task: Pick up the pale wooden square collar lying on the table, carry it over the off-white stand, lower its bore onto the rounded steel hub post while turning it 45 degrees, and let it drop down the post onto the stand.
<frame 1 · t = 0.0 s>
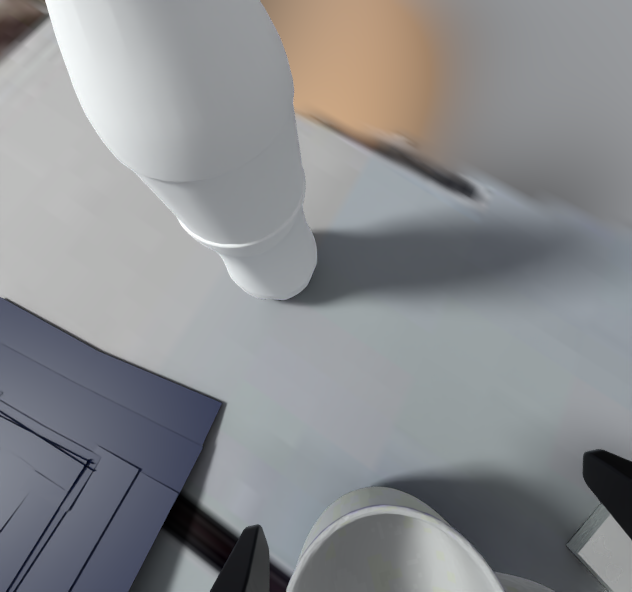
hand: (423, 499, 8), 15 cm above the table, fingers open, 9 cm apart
water bottle: (279, 270, 27), on the table
teacup: (400, 561, 20), on the table
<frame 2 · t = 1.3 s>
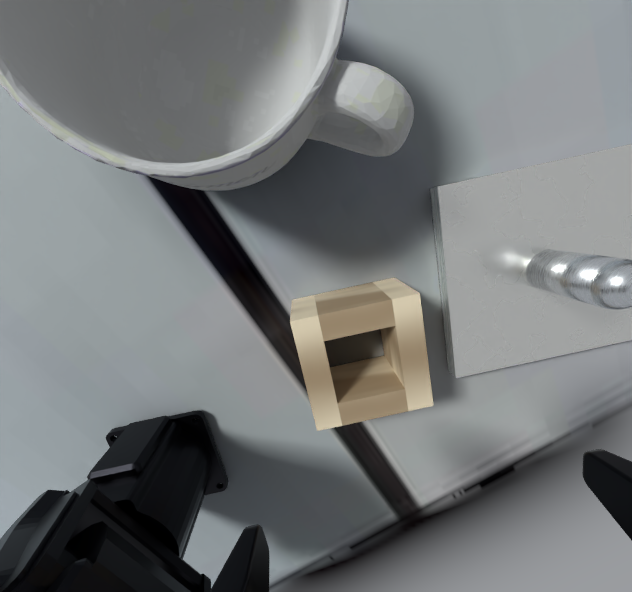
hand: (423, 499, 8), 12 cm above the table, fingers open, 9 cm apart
collar: (352, 336, 19), on the table
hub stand: (533, 266, 19), on the table
teacup: (250, 108, 16), on the table
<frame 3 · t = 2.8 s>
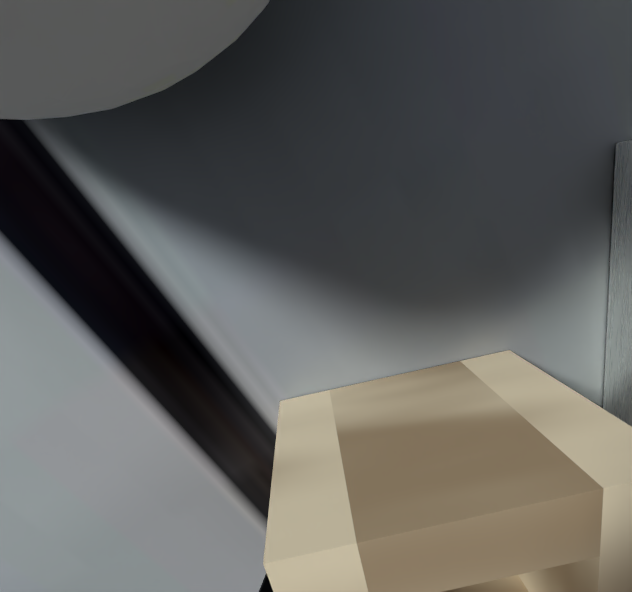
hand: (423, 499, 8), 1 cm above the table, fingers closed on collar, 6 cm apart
collar: (409, 468, 9), on the table, touching gripper
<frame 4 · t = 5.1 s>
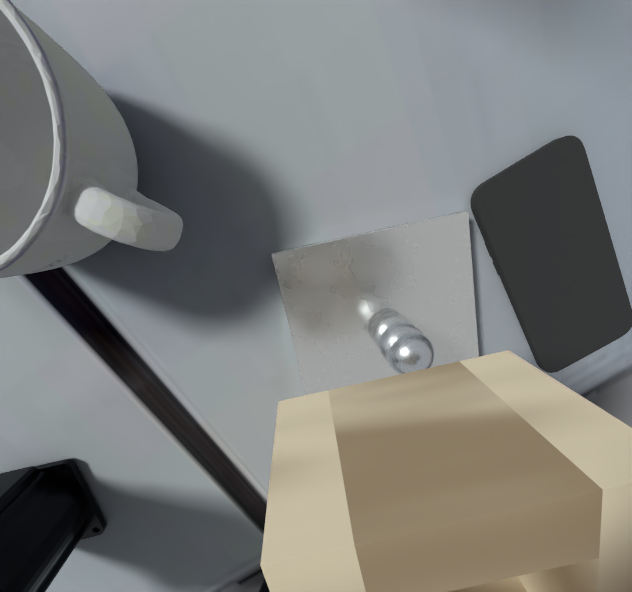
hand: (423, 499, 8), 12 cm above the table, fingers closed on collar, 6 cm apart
collar: (408, 468, 9), point 11 cm above the table, touching gripper
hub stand: (380, 321, 20), on the table
teacup: (92, 182, 17), on the table
phone: (548, 264, 21), on the table
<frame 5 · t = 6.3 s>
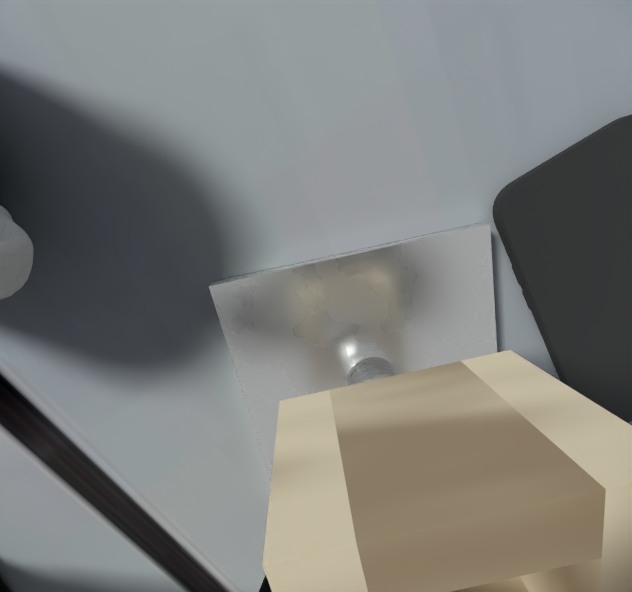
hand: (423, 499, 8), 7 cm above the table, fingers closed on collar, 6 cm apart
collar: (409, 468, 9), point 6 cm above the table, touching gripper
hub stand: (367, 369, 15), on the table
phone: (598, 292, 15), on the table
when the fingers open (5 cm above the table, at t = 7.4 s): collar drops 3 cm, resting on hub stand.
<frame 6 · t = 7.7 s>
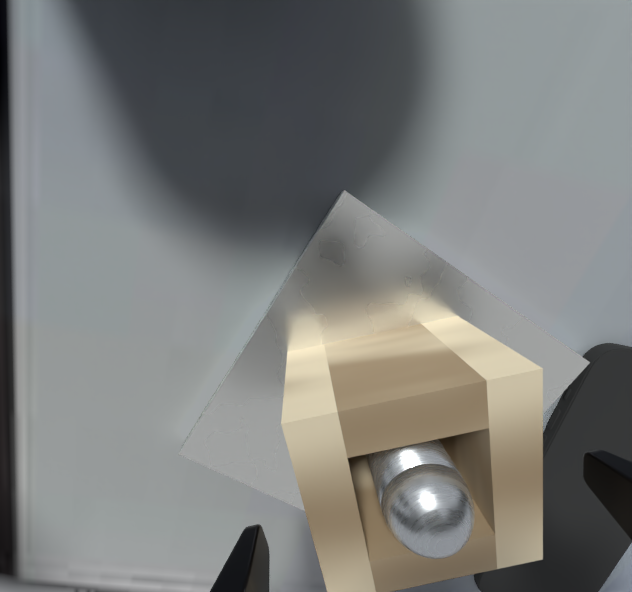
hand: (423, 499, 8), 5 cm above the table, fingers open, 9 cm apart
collar: (384, 407, 12), point 1 cm above the table, touching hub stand
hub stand: (377, 394, 13), on the table
phone: (576, 478, 15), on the table
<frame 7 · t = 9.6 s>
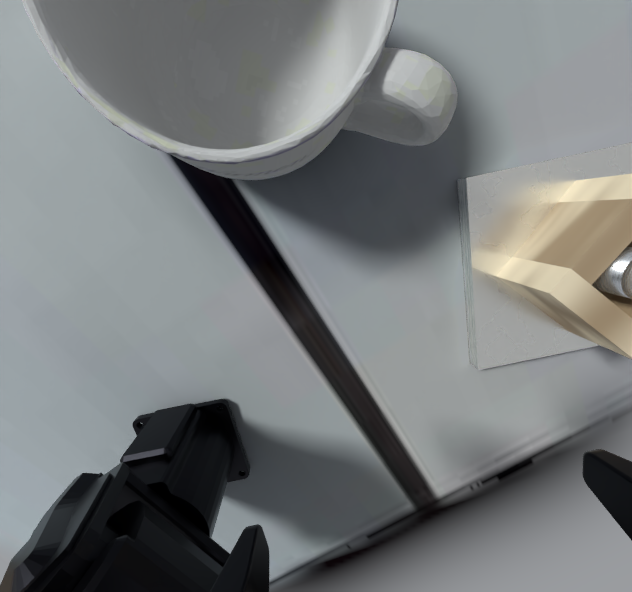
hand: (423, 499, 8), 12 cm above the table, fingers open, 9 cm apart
collar: (572, 261, 18), point 1 cm above the table, touching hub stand
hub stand: (558, 259, 19), on the table
teacup: (281, 98, 16), on the table
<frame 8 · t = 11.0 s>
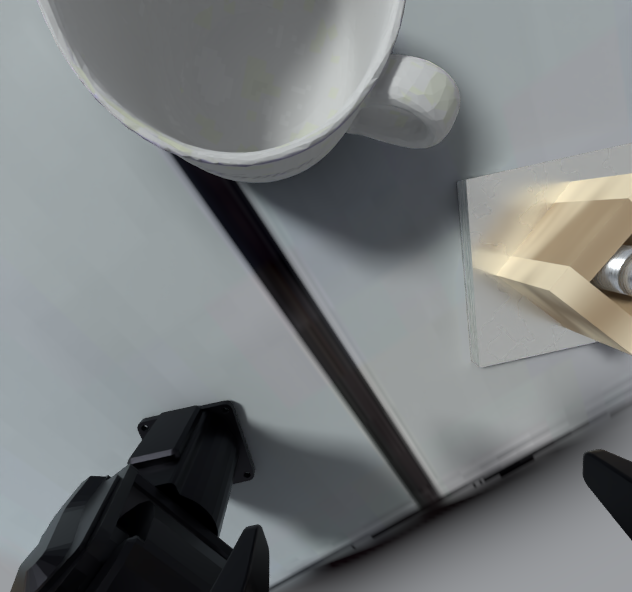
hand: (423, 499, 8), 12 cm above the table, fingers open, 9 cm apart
collar: (569, 259, 18), point 1 cm above the table, touching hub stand
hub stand: (555, 258, 19), on the table
teacup: (285, 103, 16), on the table
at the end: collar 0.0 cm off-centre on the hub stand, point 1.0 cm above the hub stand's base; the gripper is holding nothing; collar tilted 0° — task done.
